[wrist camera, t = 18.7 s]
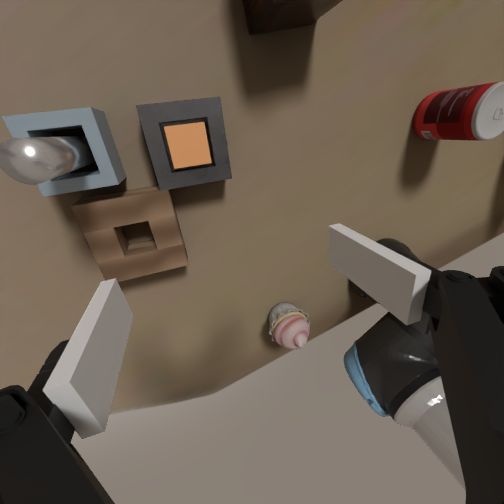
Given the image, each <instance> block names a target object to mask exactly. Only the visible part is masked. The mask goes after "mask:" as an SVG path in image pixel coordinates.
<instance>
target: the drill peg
mask: <svg viewBox="0 0 504 504" xmlns="http://www.w3.org/2000/svg"><path fill="white" fill-rule="evenodd" d="M94 162H95V158H94V156H93V153H92V151H91V148H90V146H89V143H88V140H87V138H86V137H82V136H65V137H33V138H12V139H8V140H6V141H4V142H2V143H1V144H0V166H1V168H2V169H3V171H4V172H5V173H6V174H7V175H9V176H10V177H11V178H13V179H14V180H16V181H18V182H21V183H24V184H30V185H35V184H40V183H43V182H46V181H48V180H51V179H53V178H56V177H58V176H61V175H64V174H66V173H69V172H71V171H74V170H76V169H79V168H82V167H84V166H87V165H89V164H92V163H94Z"/></svg>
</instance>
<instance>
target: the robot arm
mask: <svg viewBox="0 0 504 504" xmlns="http://www.w3.org/2000/svg"><path fill="white" fill-rule="evenodd" d="M329 263H330V264H331V265H332V266H333V267H335V268H336V269H337V270H338V271H340V272H341V273H342V274H343V275H345V276H346V277H347V278H348V279H350V283H351V286H352V288H353V289H354V291H356V292H357V293H358V294H359V295H360V296H362V297H363V298H365V299H368V300H371V301H373V302H376V303H378V304H381V305H382V306H383V307H384V308H386V309H387V310H388V311H389V312H388V313H387V314H386V315H384V316H383V317H382V318H381V319H380V320H379V321H378V322H377V323H376V324H375V325H374V326H373V327H371V329H369V330H368V331H367V332H366V333H365V334H364V335H363V336H362V337H361V338H359V339H358V340H356V341H355V342H354V345H353V346H352V347H351V348H350V349H349V350H348V351H347V352H346V353H345V355H344V365H345V368H346V371H347V373H348V375H349V377H350V379H351V381H352V382H353V384H354V386H355V387H356V389H357V390H358V392H359V393H360V394H361V396H362V397H363V398H364V399H365V400H366V401H367V403H368V404H369V406H370V407H371V408H372V409H373V410H374V411H375V412H376V413H377V414H379V415H380V416H383V417H385V416H389V415H390V416H391V417H392V418H393V420H394V421H395V422H396V423H397V424H400V425H403V426H407V427H410V428H412V429H414V430H415V431H416V433H417V434H418V435H419V436H420V437H421V439H422V440H423V441H424V442H425V443H426V444H427V446H428V447H429V448H430V449H431V450H432V452H433V453H434V454H435V455H436V456H437V458H438V459H439V460H440V461H441V462H442V463H443V464H444V466H445V467H446V468H447V469H448V471H449V472H450V473H451V474H452V475H453V476H454V478H455V479H456V480H457V481H458V482H459V484H460V485H461V486H462V487H463V488H464V489H465V491H466V504H504V266H498V267H494V268H492V271H491V274H490V276H489V277H482V278H475V277H474V276H472V275H470V274H468V273H465V272H462V271H456V270H447V271H443V272H441V271H439V270H437V269H435V268H433V267H431V266H429V265H427V264H425V263H423V262H421V261H420V260H419V259H418V258H417V257H416V256H415V255H414V254H413V253H412V252H411V251H410V249H409V248H408V247H407V246H406V245H405V244H403V243H401V242H399V241H397V240H394V239H382V240H379V241H376V242H375V241H373V240H371V239H369V238H367V237H365V236H363V235H361V234H359V233H357V232H355V231H353V230H351V229H349V228H347V227H345V226H343V225H341V224H340V223H339V224H335V225H331V226H329ZM132 320H133V314H132V312H131V310H130V308H129V306H128V304H127V301H126V299H125V297H124V295H123V293H122V290H121V288H120V286H119V284H118V282H117V280H116V278H115V279H111V280H107V281H102V282H101V283H100V285H99V287H98V289H97V290H96V292H95V294H94V296H93V298H92V300H91V302H90V303H89V305H88V307H87V309H86V311H85V313H84V314H83V316H82V318H81V320H80V322H79V324H78V326H77V327H76V329H75V331H74V333H73V335H72V337H71V339H69V340H66V341H62V342H61V343H60V344H59V345H58V346H57V347H56V348H55V349H54V350H53V351H52V352H51V353H50V354H49V356H48V358H47V359H46V361H45V365H43V366H42V368H41V369H40V371H39V374H37V376H36V378H35V379H34V381H33V383H32V385H31V386H30V388H29V390H28V391H27V392H26V391H25V389H24V388H23V387H21V386H19V385H13V386H9V387H6V388H3V389H1V390H0V504H115V503H114V502H113V501H112V499H111V498H110V496H109V495H108V494H107V492H106V491H105V489H104V488H103V487H102V485H101V484H100V482H99V481H98V480H97V478H96V477H95V476H94V474H93V472H92V471H91V470H90V469H89V467H88V465H87V464H86V463H85V461H84V460H83V458H82V457H81V456H80V454H79V453H78V451H77V450H76V449H75V447H74V446H73V445H72V444H71V443H70V442H71V439H72V437H73V434H74V431H76V432H77V433H78V434H79V436H80V437H81V438H82V439H84V438H87V437H89V436H92V435H95V434H98V433H101V432H104V431H105V429H106V425H107V421H108V416H109V413H110V409H111V405H112V401H113V397H114V393H115V389H116V385H117V381H118V377H119V373H120V369H121V365H122V360H123V356H124V352H125V348H126V344H127V340H128V336H129V332H130V328H131V324H132Z"/></svg>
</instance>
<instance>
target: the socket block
mask: <svg viewBox="0 0 504 504" xmlns="http://www.w3.org/2000/svg"><path fill="white" fill-rule="evenodd" d="M71 209H72V211H73V213H74V215H75V217H76V219H77V221H78V223H79V226H80V228H81V230H82V232H83V234H84V236H85V238H86V240H87V242H88V245H89V247H90V249H91V251H92V253H93V255H94V257H95V259H96V261H97V264H98V266H99V268H100V270H101V272H102V274H103V276H104V278H105V280H106V281H107V280H111V279H115V278H116V280H117V282H120V281H124V280H129V279H133V278H137V277H141V276H145V275H149V274H153V273H158V272H162V271H166V270H170V269H174V268H178V267H182V266H186V265H189V264H188V258H187V252H186V248H185V244H184V241H183V237H182V233H181V230H180V226H179V222H178V218H177V215H176V211H175V207H174V204H173V200H172V196H171V192H170V189H169V190H163V191H160V188H159V185H158V186H152V187H146V188H140V189H135V190H129V191H123V192H117V193H111V194H105V195H99V196H93V197H88V198H82V199H80V200H79V201H78V202H76V203H75V204H74V205H72V206H71ZM144 221H148V222H149V225H150V228H151V231H152V234H153V237H154V240H150V241H145V242H141V243H136V244H131V245H129V243H128V240H127V237H126V235H125V232H124V230H123V227H122V226H124V225H129V224H134V223H139V222H144Z"/></svg>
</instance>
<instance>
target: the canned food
mask: <svg viewBox="0 0 504 504" xmlns="http://www.w3.org/2000/svg"><path fill="white" fill-rule="evenodd" d="M413 127H414V131H415V133H416V134H417V135H418V136H420V137H422V138H424V139H443V140H490V139H493V138H495V137H497V136H498V135H499V134H501V133H502V132H503V131H504V82H496V83H489V84H482V85H476V86H470V87H464V88H457V89H451V90H445V91H439V92H435V93H433V94H431V95H429V96H427V97H426V98H425V99H423V101H422V102H421V103H420V104H419V106H418V108H417V110H416V112H415V115H414V119H413Z"/></svg>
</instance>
